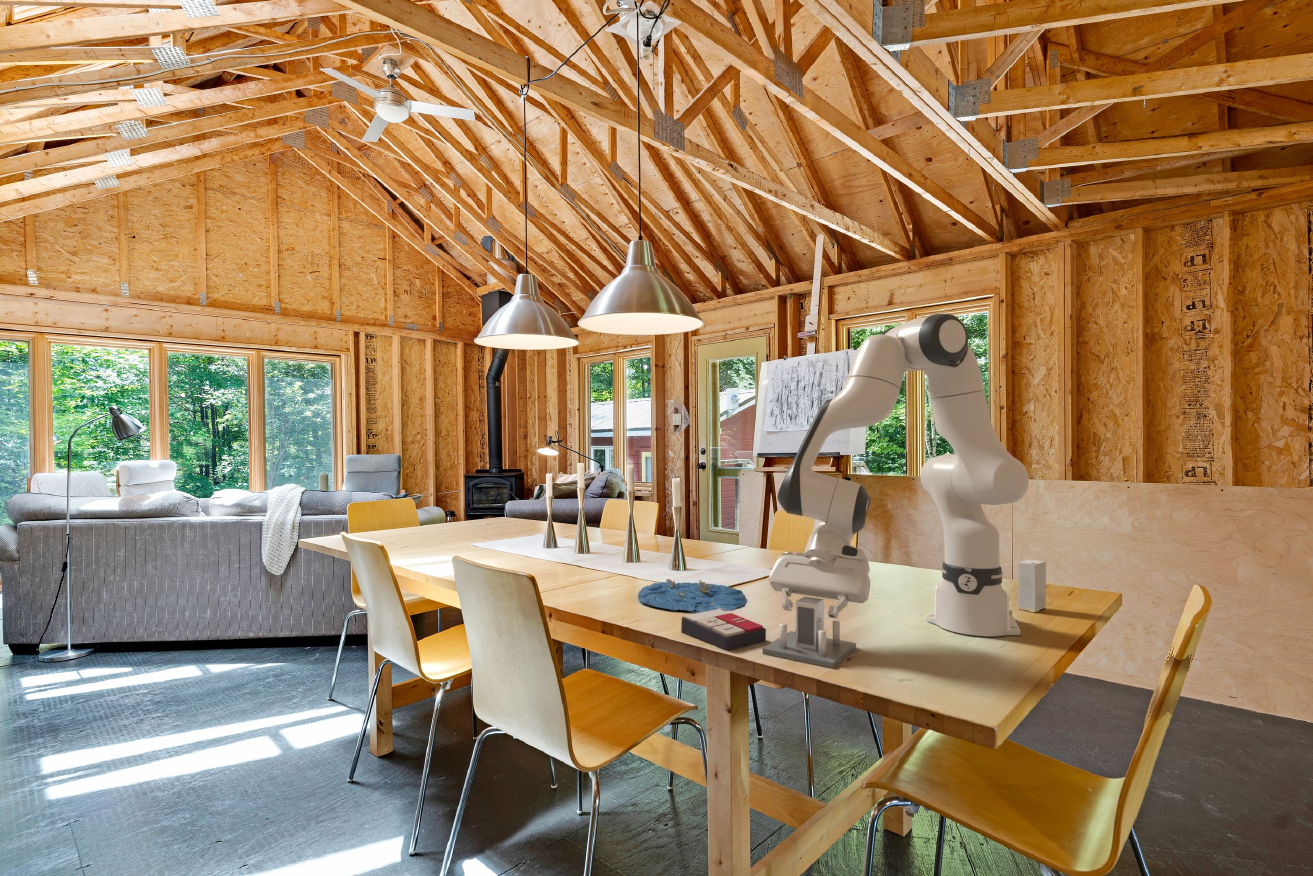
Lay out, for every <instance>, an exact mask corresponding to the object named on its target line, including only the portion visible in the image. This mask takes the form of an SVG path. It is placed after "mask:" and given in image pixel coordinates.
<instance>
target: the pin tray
mask: <svg viewBox="0 0 1313 876" xmlns="http://www.w3.org/2000/svg"><path fill="white" fill-rule="evenodd" d="M794 621H795V622H794V630H795V631H792V630H790V631H789V632H788V624H787V623H779V637H778V638H777V639H775V640H774V641H772V642H771V643H769V644H767V645H765V646H764V647H763V648H762V651H761V652H762V655H768V656H772V657H777V658H782V659H786V658H787V660H792V661H795V660H796V662H801V663H805V664H811V665H815V666H819V667H820V666H821V667H824V668H829V669H834V668H835V667H836V666H837V665H838V664H840V663H841V662H843V660H845V659H846V658H847V657H848V656H849V655H850V654H852V652H854V650H856V649H857V642H852V641H848V640H841V621H840V620H832V638H829V637H827V630H825V629H824V630H819V649H817V650H816V651H815V650H810V649H805V648H799V647H796V614H795V617H794Z"/></svg>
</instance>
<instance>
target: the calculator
mask: <svg viewBox="0 0 1313 876" xmlns="http://www.w3.org/2000/svg"><path fill="white" fill-rule="evenodd" d="M680 627H681V629H680V630H681V631H680V632H681V634H684V635H685V636H688V637H690V638H696V639H699V641H701V642H704V643H706V644H708V645H710V644H711V645H710V646H713V645H714V646H713V647H715V646H716V648H717V649H719V650H723V651H724V652H728V651H729V652H730V651H733V650H738V649H740V648H745V647H749V646H753V645H757V644H761V643H765V642H766V641H767V639H766V638H767V628H766V627H764V626H763V625H762V624H761V623H757V622H755V621H752V620H751V619H750V620H749V619H748V618H745V617H743V616H740V615H737V614H734V613H732V612H731V613H730V612H729V611H723V610H721V608H719V609H716V610H711V611H706V612H701V613H691V614H690V613H689V614H686V615H684V616H682V617H681V625H680Z"/></svg>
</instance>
